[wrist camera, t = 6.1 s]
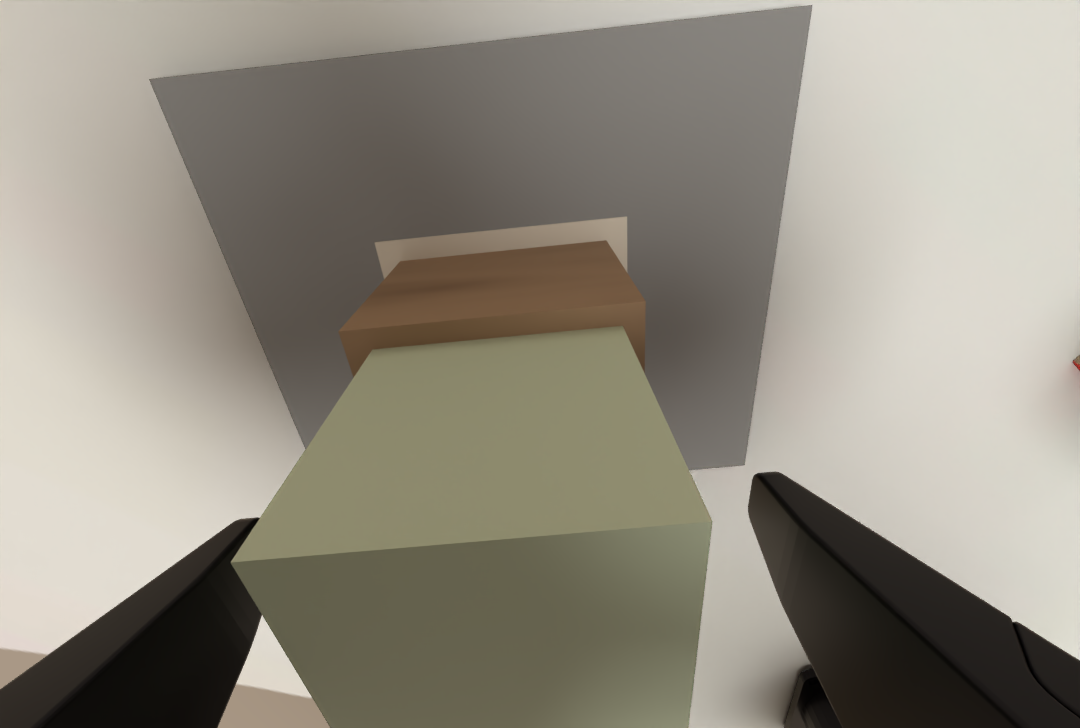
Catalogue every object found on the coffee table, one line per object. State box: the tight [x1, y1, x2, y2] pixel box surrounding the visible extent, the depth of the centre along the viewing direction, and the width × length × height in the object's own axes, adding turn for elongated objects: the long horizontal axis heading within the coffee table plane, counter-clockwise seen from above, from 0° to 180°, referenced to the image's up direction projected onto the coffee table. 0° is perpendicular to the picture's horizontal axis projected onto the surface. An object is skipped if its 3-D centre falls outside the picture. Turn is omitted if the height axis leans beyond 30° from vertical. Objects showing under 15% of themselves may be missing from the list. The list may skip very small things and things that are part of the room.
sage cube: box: [230, 326, 712, 728], centre depth 8 cm, size 5×5×5 cm
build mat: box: [149, 5, 812, 470], centre depth 14 cm, size 14×16×1 cm
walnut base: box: [338, 240, 646, 378], centre depth 13 cm, size 6×6×5 cm
